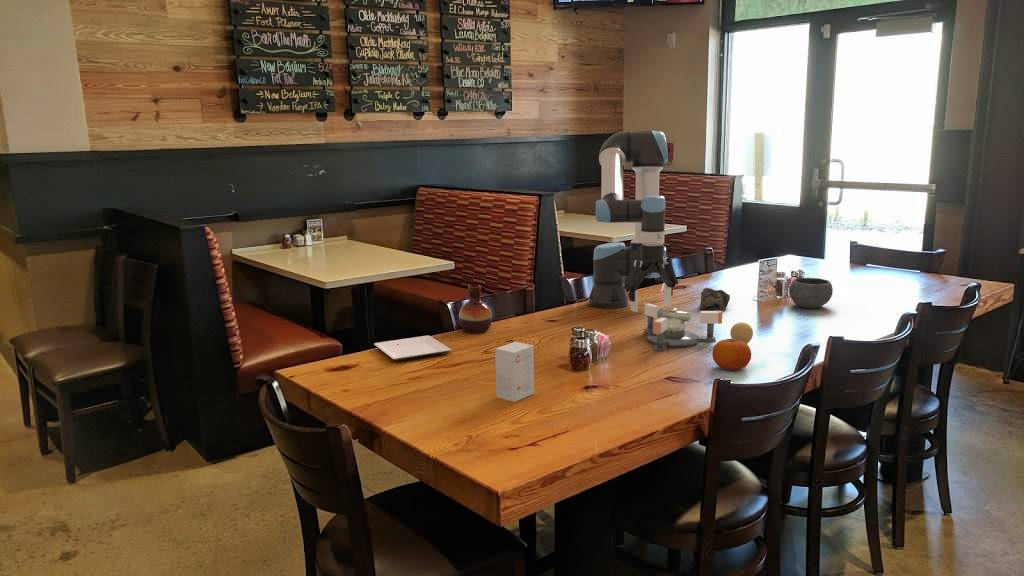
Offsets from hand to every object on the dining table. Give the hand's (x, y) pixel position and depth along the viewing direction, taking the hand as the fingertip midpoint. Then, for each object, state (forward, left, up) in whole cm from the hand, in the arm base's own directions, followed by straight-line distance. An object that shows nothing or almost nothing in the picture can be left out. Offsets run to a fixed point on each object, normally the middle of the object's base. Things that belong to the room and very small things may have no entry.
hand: (650, 308), depth 254 cm
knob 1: (0, 0, -7) cm, 7 cm away
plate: (-55, -55, -9) cm, 79 cm away
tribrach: (+10, -8, -8) cm, 15 cm away
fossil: (+8, +44, -9) cm, 45 cm away
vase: (-52, -25, -8) cm, 59 cm away
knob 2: (+10, -17, -7) cm, 21 cm away
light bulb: (+33, -11, -8) cm, 36 cm away
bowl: (+38, +62, -8) cm, 73 cm away
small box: (-7, -73, -8) cm, 74 cm away
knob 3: (+20, 0, -7) cm, 21 cm away
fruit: (+34, -24, -8) cm, 43 cm away
